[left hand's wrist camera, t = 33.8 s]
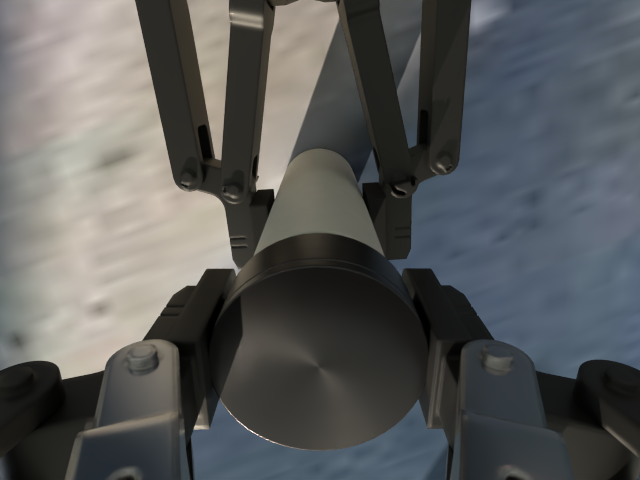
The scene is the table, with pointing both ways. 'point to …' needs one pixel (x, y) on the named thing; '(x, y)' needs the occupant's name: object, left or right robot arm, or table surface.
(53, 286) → the table surface
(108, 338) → the table surface
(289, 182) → the white cylinder
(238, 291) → the lid
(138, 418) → the left robot arm
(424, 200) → the table surface
